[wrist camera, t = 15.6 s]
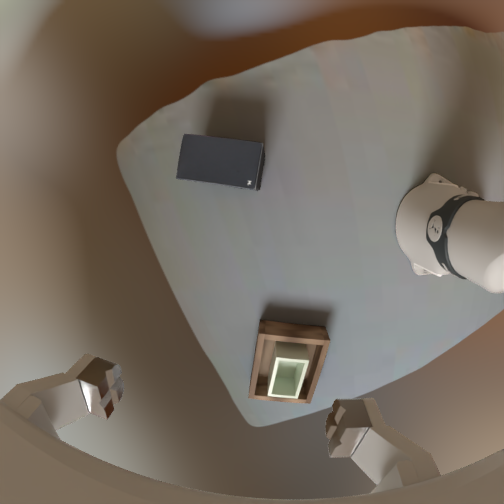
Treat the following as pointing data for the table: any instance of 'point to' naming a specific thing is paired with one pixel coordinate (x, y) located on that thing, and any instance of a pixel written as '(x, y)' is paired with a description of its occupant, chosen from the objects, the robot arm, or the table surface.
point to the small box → (221, 161)
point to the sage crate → (287, 369)
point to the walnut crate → (294, 333)
